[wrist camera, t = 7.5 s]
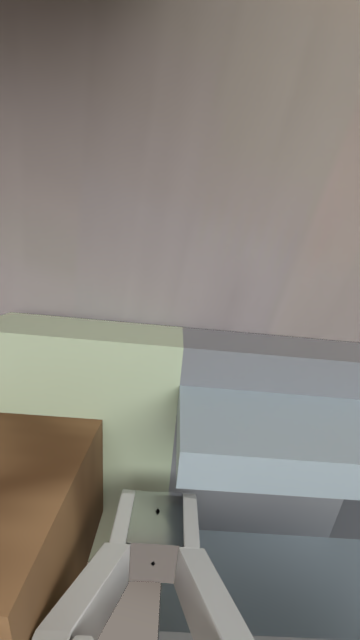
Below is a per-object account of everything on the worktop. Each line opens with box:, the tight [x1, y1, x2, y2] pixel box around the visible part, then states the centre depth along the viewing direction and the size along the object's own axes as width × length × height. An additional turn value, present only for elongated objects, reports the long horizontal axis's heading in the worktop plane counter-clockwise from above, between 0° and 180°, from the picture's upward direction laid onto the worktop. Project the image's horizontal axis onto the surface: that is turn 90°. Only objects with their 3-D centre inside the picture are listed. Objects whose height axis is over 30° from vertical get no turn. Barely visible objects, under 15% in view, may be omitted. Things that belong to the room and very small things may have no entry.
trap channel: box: [0, 312, 360, 640], centre depth 9 cm, size 24×12×6 cm, turn 85°
